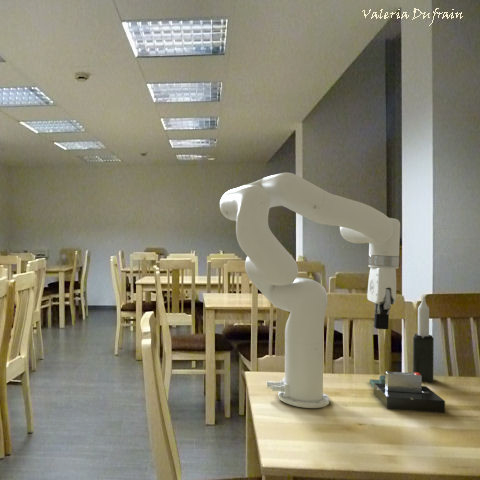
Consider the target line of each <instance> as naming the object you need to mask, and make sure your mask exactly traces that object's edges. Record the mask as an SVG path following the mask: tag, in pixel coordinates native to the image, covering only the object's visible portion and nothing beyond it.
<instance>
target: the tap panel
mask: <svg viewBox="0 0 480 480" xmlns="http://www.w3.org/2000/svg"><path fill="white" fill-rule="evenodd" d="M373 395H374V396H375V397H376V398H377V399H378V401H379V402H380V403H381V404H382V405H383V407H385V408H386V410H394V411H395V410H396V411H409V412H411V411H412V412H423V413H439V414H445V413H446V407H445V406H446V400H444V399H443V398H442V397H440V395H438V394H437V393H435V392H434V391H433V390H432V389H430V388H429V387H428V386H426V385H422V393H409V392H394V391H387V390H386V389H385V384H380V383H374V387H373Z"/></svg>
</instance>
